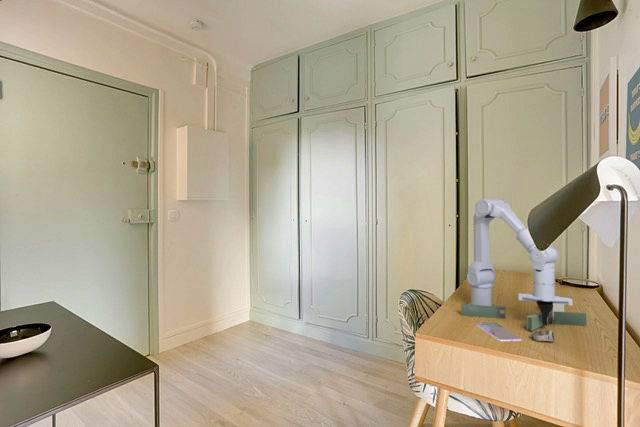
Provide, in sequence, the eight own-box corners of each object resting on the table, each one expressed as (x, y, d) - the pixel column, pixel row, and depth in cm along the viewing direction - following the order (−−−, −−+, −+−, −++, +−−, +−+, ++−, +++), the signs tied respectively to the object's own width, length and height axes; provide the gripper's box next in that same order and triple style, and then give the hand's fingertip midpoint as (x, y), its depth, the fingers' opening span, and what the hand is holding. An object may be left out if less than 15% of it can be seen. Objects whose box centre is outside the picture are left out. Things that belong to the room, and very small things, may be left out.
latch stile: (461, 314, 121) (461, 303, 121) (504, 317, 117) (504, 306, 117) (461, 315, 120) (461, 305, 120) (505, 318, 116) (505, 307, 116)
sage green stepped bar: (544, 321, 111) (544, 309, 111) (549, 322, 110) (549, 310, 110) (526, 329, 104) (526, 315, 104) (532, 330, 103) (532, 317, 103)
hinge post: (543, 321, 113) (543, 302, 113) (583, 324, 110) (583, 304, 110) (546, 323, 111) (546, 304, 111) (587, 326, 107) (587, 306, 107)
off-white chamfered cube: (564, 317, 117) (564, 301, 117) (544, 315, 119) (544, 299, 119) (559, 312, 122) (559, 296, 122) (540, 310, 125) (540, 295, 125)
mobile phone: (499, 339, 97) (474, 321, 112) (499, 342, 97) (474, 324, 112) (524, 338, 97) (495, 321, 112) (524, 342, 97) (495, 324, 112)
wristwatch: (544, 337, 100) (560, 341, 95) (529, 341, 98) (545, 345, 94) (542, 325, 100) (558, 329, 96) (527, 330, 99) (542, 333, 94)
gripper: (518, 283, 105) (519, 324, 105) (574, 287, 98) (575, 332, 98) (517, 279, 111) (518, 318, 112) (570, 283, 104) (570, 324, 104)
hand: (544, 324), depth 105 cm, fingers closed
